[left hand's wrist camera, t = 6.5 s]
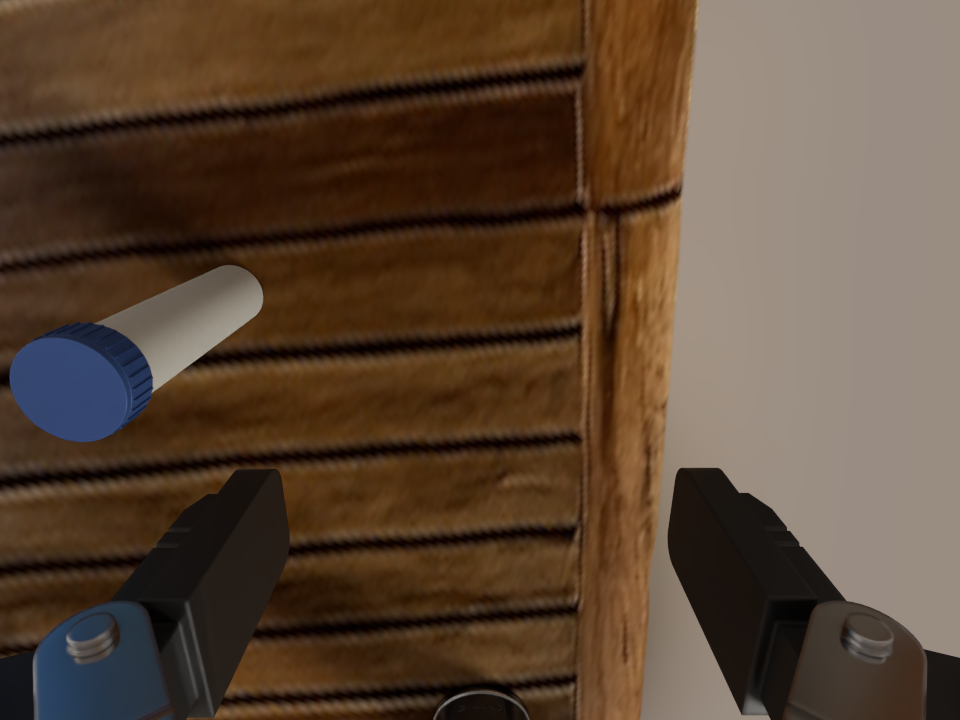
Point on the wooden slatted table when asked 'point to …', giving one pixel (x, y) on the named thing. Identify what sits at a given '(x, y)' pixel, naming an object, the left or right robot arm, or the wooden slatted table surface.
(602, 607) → the wooden slatted table surface
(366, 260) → the wooden slatted table surface
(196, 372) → the wooden slatted table surface
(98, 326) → the lid
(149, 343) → the white tube
